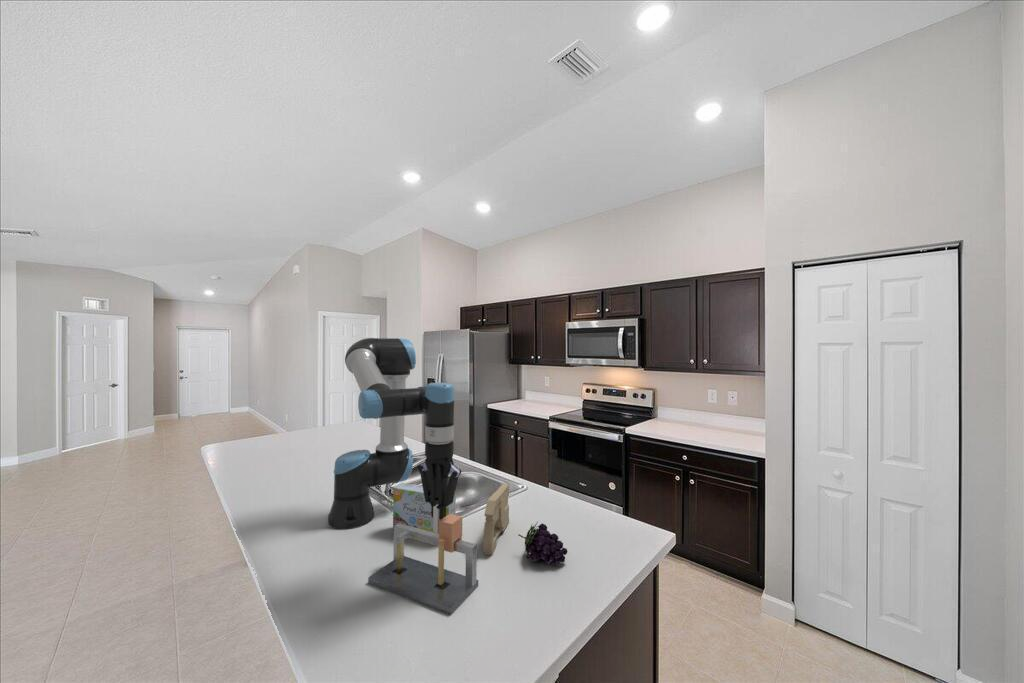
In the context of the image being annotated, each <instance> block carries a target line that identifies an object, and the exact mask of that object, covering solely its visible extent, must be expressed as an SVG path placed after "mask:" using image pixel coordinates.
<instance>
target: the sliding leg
mask: <svg viewBox="0 0 1024 683" xmlns="http://www.w3.org/2000/svg"><path fill="white" fill-rule="evenodd" d="M457 539H459V540H462V539H463V516H462V515H453V514H449V515H447V516H446V517H444V518H443V519H441V520H440V521H439V540H438V545H439V546H438V555H437V556H438V557H437V558H438V559H437V560H438V562H437V567H438V584H439V585H442V584H443V583H444V569H445V552H449V553H451V554H452V553H454V552H455V551H454V542H455V541H456V540H457ZM462 541H463V540H462Z"/></svg>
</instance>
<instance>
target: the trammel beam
mask: <svg viewBox="0 0 1024 683" xmlns="http://www.w3.org/2000/svg"><path fill="white" fill-rule="evenodd" d="M408 538H409V539H413V540H416V541H419V542H423V543H427V544H428V545H434V546H436V547H439V545H438V540H439V534H437V533H433V532H430V531H426V530H422V529H419V528H415V527H411V526H408V525H404V524H400V523H398V524H397V525H395V526H394V532H393V556H392V557H393V560H394V561H397V574H398V575H400V574H402V559H404V556H405V540H407V539H408ZM477 546H478V545H477V544H476V543H473V542H468V541H465V540H459V539H457V540H456V541H455V542H454V552H457V553H461V554H464V555H465V576H466V579H465V584H466V585H469V586H473V585H474V584H475V583H476V579H477V569H478V568H477V566H478V565H477V562H478V560H477V558H478V556H477V554H478V552H477V551H478V550H477V549H478V548H477ZM393 560H392V561H393Z"/></svg>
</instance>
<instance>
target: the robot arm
mask: <svg viewBox="0 0 1024 683" xmlns="http://www.w3.org/2000/svg"><path fill="white" fill-rule="evenodd" d="M416 357H417V356H416V351H415V347H414V344H413V343H412V341H411V340H409V339H408V338H387V337H386V338H385V337H384V338H382V337H379V338H378V337H375V338H374V337H368V338H363V339H360V340H358V341H356V342H354V343H353V344H352V345H351V346H350V347H349V348H348V349H347V351H346V353H345V356H344V362H345V366H346V368H347V369H348V371H349V372H350V373H351V374H352V375H353V376H354V378H355V382H356V383H357V386H358V388H359V390H360V393H359V395H358V398H357V399H358V400H357V401H358V403H357V405H358V414H359V416H360V417H361V419H365V420H366V419H373V420H377V419H380V429H379V431H380V433H379V434H380V435H379V443H378V444H377V445H376V446H375V452H374V453H373V452H372V453H371V452H370V450H368V449H357V450H351V451H348V452H345V453H342V454H341V455H339V456H338V457H337V458H336V459H335V462H334V469H333V474H334V475H333V476H334V478H333V480H334V481H333V487H334V488H333V501H332V505H331V509H330V512H329V513H328V516H327V525H328V526H329V527H330V528H334V529H338V530H339V529H340V530H347V529H355V528H358V527H361V526H364V525H366V524H368V523H370V522H372V520H373V519H374V518H375V508H374V506H373V503H372V499H371V497H370V488H372V487H377V486H378V487H379V486H383V485H390V484H397V483H399V482H405V481H406V480H408V479H409V478H410V477H411V474H412V471H413V465H414V458H413V451H412V450H411V449H410V448H409V446H408V445H409V444H407V443H406V442H405V422H406V421H405V416H406V417H407V416H415V415H416V416H418V415H424V416H425V420H424V421H425V426H424V428H425V433H424V436H425V437H424V440H425V441H426V442H425V443H424V455H425V457H426V458H425V460H424V463H421V464H419V465H417V470H418V472H419V474H420V480H421V486H423V492H424V498H425V502H429V503H430V505H431V516H432V518H433V532H435V533H439V521H440V520H441V519H443V518H444V517H446V507H447V506H448V505H450V504H452V503H453V499H454V495H455V492H456V491H457V485H458V481H459V477H460V476H461V474H462V470H461V468H459V469H458V468H457V467H456V466H454V465H455V463H454V462H455V461H454V460H453V457H454V448H455V447H454V446H455V442H454V441H453V440H454V438H455V424H454V423H455V420H454V419H455V417H454V415H455V389H454V388H455V387H454V384H453V383H450V382H430V383H428V384H427V385H425V386H418V387H414V388H413V387H412V388H406V385H407V384H406V379H407V378H408V377H409V376H410V375H411V370H414V369H415V367H416V364H417V358H416Z"/></svg>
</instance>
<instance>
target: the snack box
mask: <svg viewBox="0 0 1024 683" xmlns="http://www.w3.org/2000/svg"><path fill="white" fill-rule="evenodd" d="M392 490H393V491H392V494H393V495H392V532H393V533H394V526H395V525H397V524H398V523H400V524H404V525H408V526H411V527H415V528H419V529H422V530H426V531H430V532H433V518H432V516H431V505H430V503H429V502H425V498H424V492H423V486H422V485H419V484H412V483H407V482H401V483H399V484H397V485H395V486H393V488H392ZM456 492H457V491H455V495H454V499H453V503H452V504H450V505H448V506H447V507H446V516H447V515H449V514H453V515H456V514H457V513H456V512H457V511H456V510H457V509H456V508H457V507H456V506H457V503H456V502H457V494H456ZM433 533H435V532H433ZM437 534H439V533H437Z"/></svg>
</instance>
